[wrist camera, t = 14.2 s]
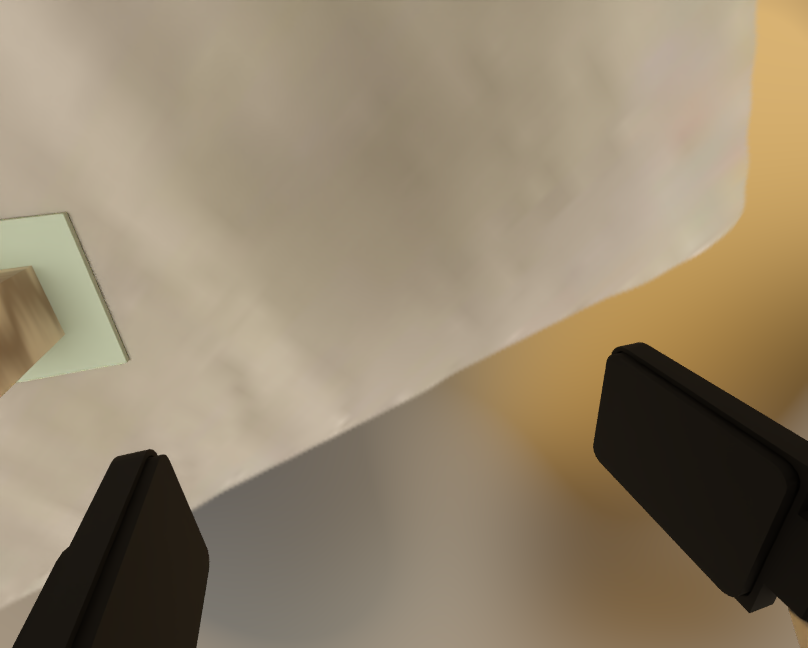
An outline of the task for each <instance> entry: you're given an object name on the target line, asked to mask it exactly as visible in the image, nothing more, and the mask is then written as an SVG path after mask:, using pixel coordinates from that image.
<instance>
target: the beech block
mask: <svg viewBox="0 0 808 648" xmlns="http://www.w3.org/2000/svg"><path fill="white" fill-rule="evenodd" d="M64 335H65V333H64V331H63V329H62V327H61V325H60V323H59V321H58V319H57V317H56V315H55V313H54V311H53V308H52V306H51V304H50V302H49V300H48V298H47V296H46V294H45V292H44V290H43V288H42V286H41V284H40V282H39V280H38V278H37V276H36V274H35V271H34V269H33V267H32V265H31V266H24V267H16V268H9V269H1V270H0V397H1V396H2V395H4V394H5V393H6V392H7V391H8V390H9V389H10V388H11V387H12V386H13V385H14V384H15V383H16V382H17V381H18V380H19V379H20V378H21V377H22V376H23V375H24V374H25V373H26V372H27V371H28V370H29V369H30V368H31V367H32V366H33V365H34V364H35V363H36V362H37V361H38V360H39V359H40V358H41V357H42V356H44V355H45V354H46V353H47V352H48V351H49V350H50V349H51V348H52V347H53V346H54V345H55V344H56V343H57V342H58V341H59V340H60V339H61V338H62V337H63V336H64Z"/></svg>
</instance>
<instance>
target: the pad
mask: <svg viewBox="0 0 808 648" xmlns="http://www.w3.org/2000/svg"><path fill="white" fill-rule="evenodd" d="M31 265H32V267H33V269H34V271H35V274H36V276H37V278H38V280H39V282H40V284H41V286H42V288H43V290H44V292H45V294H46V296H47V298H48V300H49V302H50V304H51V306H52V308H53V311H54V313H55V315H56V317H57V319H58V321H59V323H60V325H61V327H62V329H63V331H64V333H65V335H64V336H63V337H62V338H61V339H60V340H59V341H58V342H57V343H56V344H55V345H54V346H53V347H52V348H51V349H50V350H49V351H48V352H47V353H46V354H45V355H44V356H42V357H41V358H40V359H39V360H38V361H37V362H36V363H35V364H34V365H33V366H32V367H31V368H30V369H29V370H28V371H27V372H26V373H25V374H24V375H23V376H22V377H21V378H20V379H19V380H18V381H17V382H16V383H19V382H24V381H30V380H36V379H41V378H47V377H52V376H58V375H63V374H69V373H74V372H80V371H85V370H91V369H96V368H102V367H107V366H113V365H119V364H124V363H127V362H128V361H129V357H128V355H127V353H126V350H125V348H124V346H123V343H122V341H121V339H120V336H119V334H118V332H117V329H116V327H115V325H114V322H113V320H112V317H111V315H110V313H109V310H108V308H107V306H106V303H105V301H104V299H103V296H102V294H101V292H100V289H99V287H98V285H97V282H96V280H95V277H94V275H93V273H92V270H91V268H90V266H89V263H88V261H87V259H86V256H85V254H84V252H83V249H82V247H81V245H80V242H79V240H78V238H77V235H76V233H75V230H74V228H73V226H72V223H71V221H70V219H69V216H68V214H67V212H63V213H54V214H45V215H36V216H28V217H19V218H10V219H1V220H0V270H1V269H9V268H16V267H24V266H31Z"/></svg>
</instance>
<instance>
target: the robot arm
mask: <svg viewBox="0 0 808 648" xmlns="http://www.w3.org/2000/svg"><path fill="white" fill-rule="evenodd" d="M593 448H594V453H595V455H596V457H597V459H598V460H599V462H600V463H601V464H602V465H603V466H604V467H605V468H606V469H607V470H608V471H609V472H610V473H611V474H612V475H613V477H614V478H616V480H617V481H618V482H619V483H620V484H621V485H622V486H623V487H624V488H625V489H626V490H627V491H628V492H629V493H630V495H632V497H633V498H634V499H635V500H636V501H637V502H638V503H639V504H640V505H641V506H642V507H643V508H644V509H645V510H646V512H648V514H649V515H650V516H651V517H652V518H653V519H654V520H655V521H656V522H657V523H658V524H659V525H660V526H661V527H662V528H663V530H664V531H665V532H666V533H667V534H668V535H669V536H670V537H671V538H672V539H673V540H674V541H675V542H676V543H677V544H678V545H679V546H680V548H681V549H682V550H683V551H684V552H685V553H686V554H687V555H688V556H689V557H690V558H691V559H692V560H693V561H694V562H695V563H696V565H697V566H698V567H699V568H700V569H701V570H702V571H703V572H704V573H705V574H706V575H707V576H708V577H709V578H710V579H711V580H712V581H713V582H714V583H715V585H716V586H717V587H718V588H719V589H720V590H721V591H722V592H724V593H725V594H727V595H728V596H731V597H734V598H735V599H736V600H737V601H738V602H739V603H740V604H741V605H742V606H743V607H744V608H745V609H746V610H747V611H748V612H749V613H751V612H754V611H756V610H759V609H761V608H764V607H767V606H769V605H772V604H773V603H774V601H775V599H776V597H778V598H779V599H781V601H782V602H784V603H785V604H786V605H787V606H788V610H789V613H790V616H791V620H792V623H793V626H794V630H795V633H796V636H797V640H798V643H799V646H800V648H808V441H807V440H805V439H803V438H802V437H800V436H798V435H796V434H795V433H793V432H792V431H790V430H788V429H787V428H785V427H783V426H782V425H780V424H778V423H777V422H775V421H773V420H772V419H770V418H768V417H767V416H765V415H763V414H762V413H760V412H759V411H757V410H755V409H754V408H752V407H750V406H749V405H747V404H745V403H744V402H742V401H740V400H739V399H737V398H735V397H734V396H732V395H730V394H729V393H727V392H725V391H724V390H722V389H720V388H719V387H717V386H715V385H714V384H712V383H710V382H708V381H707V380H705V379H704V378H702V377H700V376H699V375H697V374H695V373H693V372H692V371H690V370H689V369H687V368H685V367H684V366H682V365H680V364H679V363H677V362H675V361H674V360H672V359H670V358H669V357H667V356H665V355H664V354H662V353H660V352H659V351H657V350H655V349H654V348H652V347H651V346H649V345H647V344H645V343H639V342H638V343H634V344H629V345H625V346H620V347H617V348H615V349H614V350H613V352H612V355H610V356H609V357H608V359H607V362H606V369H605V375H604V381H603V387H602V394H601V400H600V406H599V412H598V419H597V425H596V431H595V437H594V444H593ZM208 572H209V554H208V550H207V547H206V545H205V542H204V540H203V538H202V535H201V533H200V531H199V528H198V526H197V524H196V521H195V519H194V516H193V514H192V512H191V509H190V507H189V505H188V502H187V500H186V498H185V495H184V493H183V491H182V488H181V486H180V484H179V481H178V479H177V477H176V474H175V472H174V470H173V467H172V465H171V463H170V460H169V458H168V457H167V456H166V455H159V456H158V455H157V453H156V452H155V451H154V450H151V449H149V450H144V451H140V452H135V453H130V454H126V455H121V456H117V457H116V458H114V459H113V461H112V462H111V464H110V466H109V468H108V470H107V472H106V474H105V476H104V478H103V480H102V482H101V484H100V486H99V488H98V490H97V492H96V494H95V496H94V498H93V500H92V502H91V504H90V506H89V508H88V510H87V512H86V514H85V516H84V518H83V520H82V522H81V524H80V526H79V528H78V530H77V532H76V534H75V536H74V538H73V540H72V542H71V544H70V546H69V547H68V548H67V549H66V550H64V551H63V552H62V554H61V555H60V557H59V558H58V560H57V561H56V563H55V565H54V567H53V569H52V571H51V573H50V575H49V577H48V579H47V581H46V583H45V585H44V587H43V589H42V591H41V592H40V594H39V596H38V599H37V601H36V602H35V604H34V606H33V608H32V610H31V612H30V614H29V616H28V618H27V620H26V622H25V624H24V626H23V628H22V630H21V631H20V634H19V635H18V637H17V639H16V641H15V643H14V645H13V647H12V648H196V646H197V640H198V634H199V627H200V622H201V615H202V609H203V603H204V596H205V591H206V585H207V578H208Z"/></svg>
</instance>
